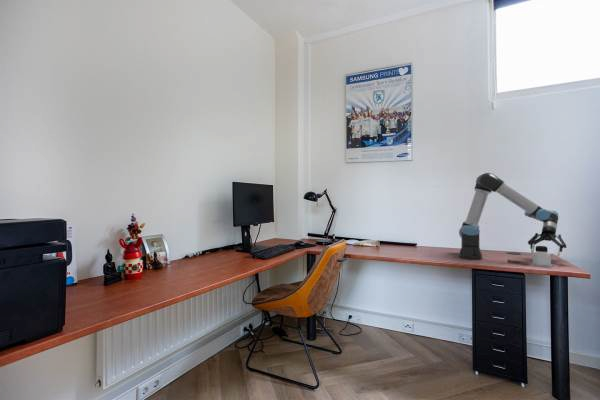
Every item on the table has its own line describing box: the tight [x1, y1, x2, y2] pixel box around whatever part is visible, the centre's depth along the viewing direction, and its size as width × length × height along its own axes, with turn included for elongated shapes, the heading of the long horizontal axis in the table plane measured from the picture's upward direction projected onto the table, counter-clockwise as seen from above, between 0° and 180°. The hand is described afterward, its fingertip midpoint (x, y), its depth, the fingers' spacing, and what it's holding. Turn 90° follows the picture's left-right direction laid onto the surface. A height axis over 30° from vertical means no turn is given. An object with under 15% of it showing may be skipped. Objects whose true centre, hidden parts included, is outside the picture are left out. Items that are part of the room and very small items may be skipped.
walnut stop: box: [507, 259, 529, 266], centre depth 200 cm, size 11×1×2 cm, turn 42°
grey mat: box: [530, 262, 554, 269], centre depth 194 cm, size 10×10×1 cm
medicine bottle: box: [531, 245, 552, 266], centre depth 195 cm, size 7×7×12 cm
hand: (544, 253), depth 199 cm, fingers open, 13 cm apart
